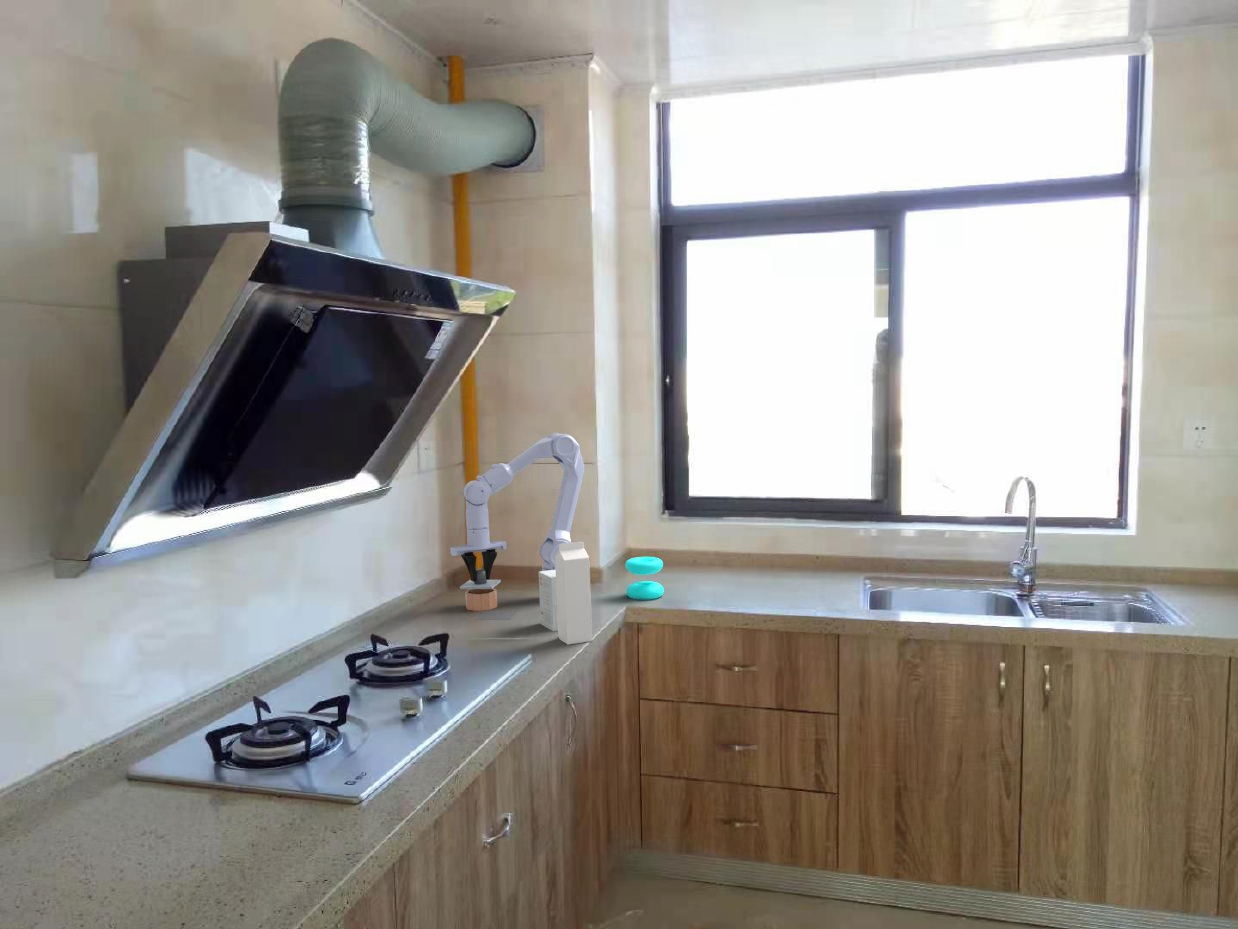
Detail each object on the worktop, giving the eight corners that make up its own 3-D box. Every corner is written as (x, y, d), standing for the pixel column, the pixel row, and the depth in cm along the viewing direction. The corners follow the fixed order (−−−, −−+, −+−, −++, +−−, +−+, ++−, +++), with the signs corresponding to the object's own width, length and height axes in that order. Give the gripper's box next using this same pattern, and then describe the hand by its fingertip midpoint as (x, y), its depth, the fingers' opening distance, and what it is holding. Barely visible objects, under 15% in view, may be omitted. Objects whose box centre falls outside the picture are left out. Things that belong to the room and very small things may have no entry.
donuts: (624, 563, 246) (625, 556, 256) (625, 601, 247) (626, 592, 257) (663, 562, 246) (662, 555, 256) (664, 600, 247) (663, 591, 257)
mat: (519, 612, 239) (519, 610, 239) (510, 621, 230) (510, 619, 230) (485, 612, 241) (484, 610, 241) (474, 621, 232) (474, 619, 232)
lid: (500, 581, 248) (500, 566, 247) (492, 588, 239) (491, 572, 239) (469, 582, 249) (468, 566, 249) (459, 589, 241) (459, 573, 240)
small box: (577, 628, 221) (575, 573, 220) (552, 632, 219) (550, 577, 217) (564, 621, 229) (562, 568, 228) (539, 625, 226) (537, 571, 225)
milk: (592, 641, 210) (589, 543, 208) (566, 645, 208) (563, 546, 206) (582, 634, 216) (579, 539, 214) (557, 638, 214) (554, 541, 211)
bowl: (500, 604, 248) (499, 587, 248) (492, 612, 240) (491, 594, 240) (471, 604, 249) (470, 587, 249) (462, 612, 242) (461, 594, 241)
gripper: (498, 523, 250) (500, 573, 251) (445, 528, 243) (448, 581, 244) (508, 526, 244) (511, 578, 245) (454, 532, 237) (457, 585, 238)
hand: (480, 580), depth 244 cm, fingers closed on lid, 3 cm apart
